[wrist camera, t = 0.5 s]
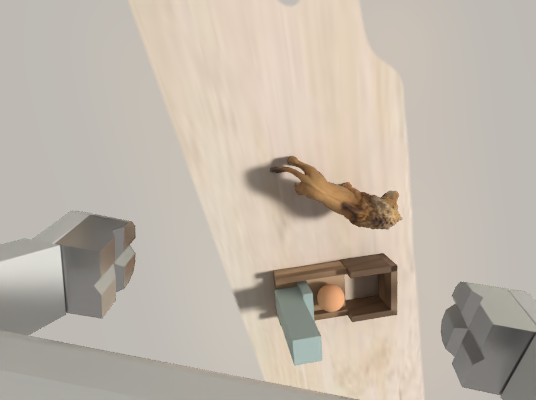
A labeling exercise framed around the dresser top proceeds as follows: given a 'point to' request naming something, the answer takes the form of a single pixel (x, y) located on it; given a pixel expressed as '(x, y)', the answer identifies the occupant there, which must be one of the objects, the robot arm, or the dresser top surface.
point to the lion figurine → (345, 198)
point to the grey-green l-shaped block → (299, 323)
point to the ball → (330, 297)
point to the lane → (315, 283)
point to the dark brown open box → (386, 287)
